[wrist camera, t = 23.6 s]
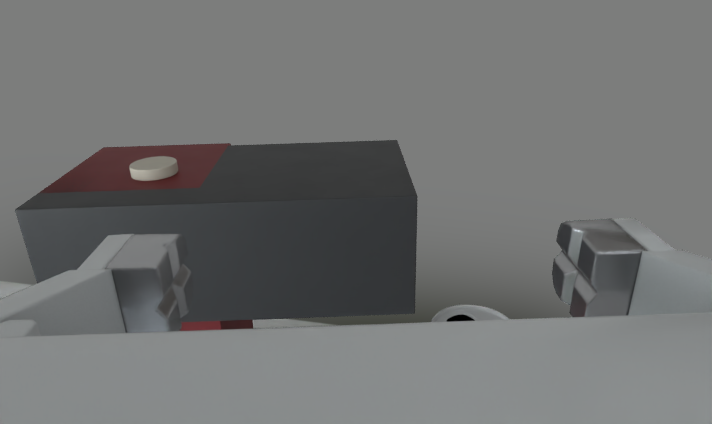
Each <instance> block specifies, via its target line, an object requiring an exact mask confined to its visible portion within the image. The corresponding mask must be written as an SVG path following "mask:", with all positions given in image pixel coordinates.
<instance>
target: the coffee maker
mask: <svg viewBox="0 0 712 424" xmlns="http://www.w3.org/2000/svg"><path fill="white" fill-rule="evenodd" d="M15 212H16V216H17V218H18V222H19V225H20V229H21V232H22V235H23V239H24V241H25V245H26V248H27V251H28V255H29V258H30V261H31V265H32V268H33V271H34V275H35V278H36V281H37V283H40V282H42V281H45V280H47V279H49V278H52V277H54V276H56V275H59V274H61V273H64V272H66V271H68V270H77V269H78V268H79V267H80V266H81V265H82V264H83V262H84V261H85V260H86V259H87V258H88V257H89V256H90V255H91V254H92V253H93V251H94V250H95V249H96V248H97V247H98V246H99V245H100V244H101V243H102V242H103V241H104V239H105V238H106V237H107V236H108V235H121V234H134V235H137V234H182V235H183V237H184V238H185V241H186V246H187V251H188V254H187V256H186V258H185V260H184V262H183V264H184V265H185V266H186V267H187V268H188V269H189V270H190V271H191V274H192V281H193V296H192V303H191V307H190V309H189V312H188V314H186V315H185V316H183V317H182V318H181V324H182V327H181V330H180V331H197V330H226V329H253V322H252V320H257V319H284V318H308V317H309V318H310V317H336V316H361V315H390V314H414V313H415V282H416V281H415V280H416V279H415V278H416V235H417V234H416V233H417V194H416V191H415V189H414V186H413V183H412V180H411V178H410V175H409V172H408V169H407V167H406V164H405V161H404V158H403V155H402V153H401V150H400V147H399V144H398V142H397V140H390V141H389V140H387V141H359V142H358V141H356V142H326V143H296V144H268V145H267V144H266V145H235V146H231V144H229V143H228V144H197V145H167V146H137V147H106V148H102V149H101V150H99V151H98V152H96V153H95V154H94V155H92V156H91V157H89V158H88V159H86V160H85V161H84V162H82V163H81V164H79V165H78V166H77V167H75V168H74V169H73V170H71V171H69V172H68V173H67V174H65V175H64V176H62V177H61V178H60V179H58V180H57V181H55V182H54V183H52V184H51V185H50V186H48V187H47V188H45V189H44V190H42V191H41V192H40V193H38V194H37V195H36V196H34V197H32V198H31V199H30V200H28V201H27V202H25V203H24V204H23V205H21V206H20V207H18V208H17V209H16V210H15Z"/></svg>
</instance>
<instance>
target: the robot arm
mask: <svg viewBox="0 0 712 424" xmlns="http://www.w3.org/2000/svg"><path fill="white" fill-rule="evenodd" d="M557 243H558V244H559V246H560V247H561V249H562V251H561V252H560V253H559V255H557V257H556V258H555V259H554V262H553V271H552V275H553V284H554V288H555V291H556V293H557V295H558V296H559V298H560V300H561V301H563V302H565V303H567V304H569V305H571V306H570V314H571V315H572V317H568V318H540V319H513V320H512V319H511V320H482V321H454V322H425V323H397V324H368V325H340V326H311V327H283V328H254V329H226V330H197V331H180V330H181V327H182V324H181V318H182V317H183V316H185V315H186V314H188V312H189V309H190V307H191V303H192V296H193V281H192V274H191V271H190V270H189V269H188V268H187V267H186V266H185V265H184V264H183V262H184V260H185V258H186V256H187V254H188V251H187V246H186V241H185V238H184V237H183V235H182V234H137V235H134V234H121V235H108V236H107V237H106V238H105V239H104V241H103V242H102V243H101V244H100V245H99V246H98V247H97V248H96V249H95V250H94V251H93V253H92V254H91V255H90V256H89V257H88V258H87V259H86V260H85V261H84V262H83V264H82V265H81V266H80V267H79V268H78V269H77V270H68V271H66V272H64V273H61V274H59V275H56V276H54V277H52V278H49V279H47V280H45V281H42V282H40V283H37V284H35V285H33V286H30V287H28V288H25V289H23V290H21V291H18V292H16V293H13V294H11V295H9V296H6V297H4V298H2V299H0V424H712V259H709V258H706V257H703V256H700V255H697V254H694V253H690V252H687V251H684V250H674V249H673V248H672V247H671V246H669V245H668V244H667V243H666V242H664V241H663V240H662V239H661V238H659V237H658V236H657V235H655V234H654V233H653V232H652V231H650V230H649V229H648V228H647V227H646V226H644V225H643V224H642V223H640V222H639V221H638V220H637V219H633V218H624V219H597V220H580V221H579V220H578V221H566V222H563V223H561V225H560V227H559V230H558V235H557Z"/></svg>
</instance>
